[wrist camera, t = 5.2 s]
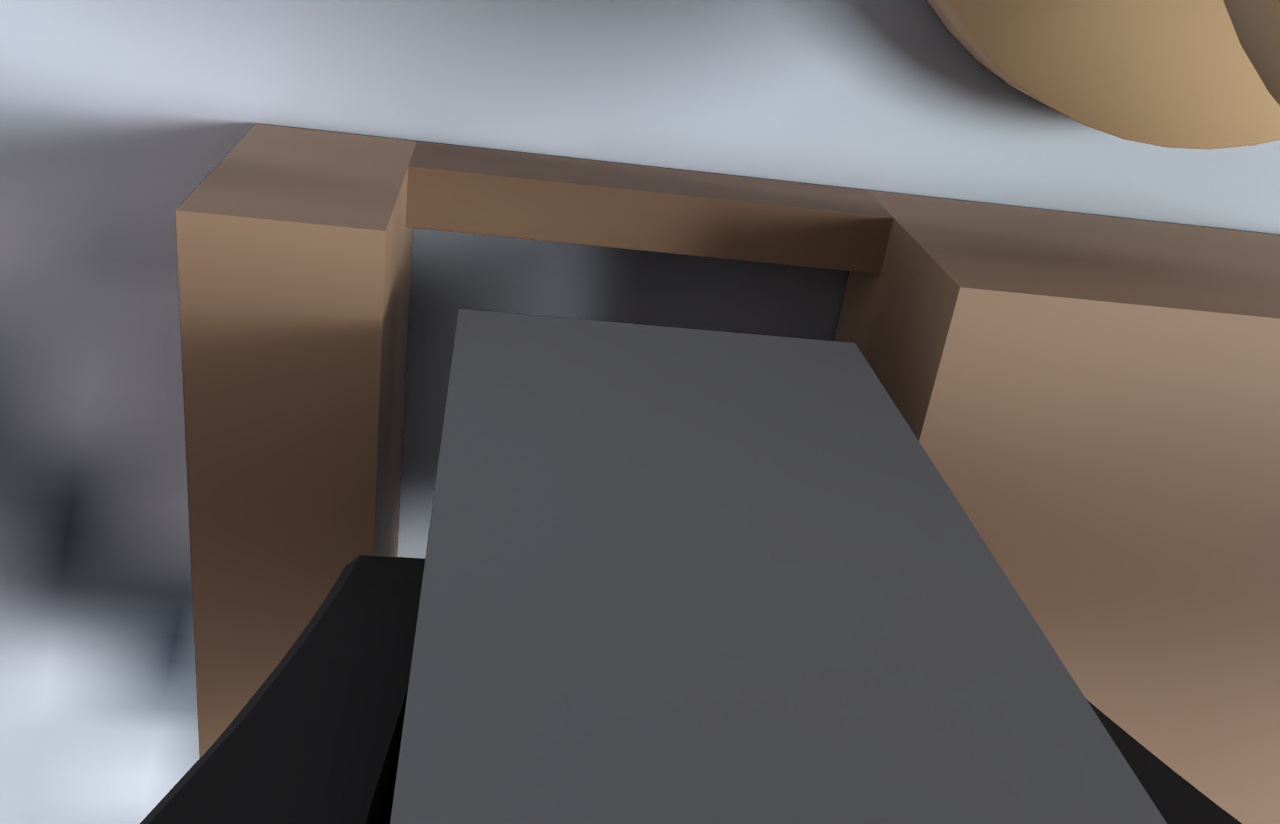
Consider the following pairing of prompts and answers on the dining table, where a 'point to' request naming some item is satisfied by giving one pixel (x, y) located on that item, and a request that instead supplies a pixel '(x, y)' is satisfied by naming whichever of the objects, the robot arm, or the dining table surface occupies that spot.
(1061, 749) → the grey rectangular block
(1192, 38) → the spool
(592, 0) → the dining table surface
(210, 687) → the block with rectangular opening
